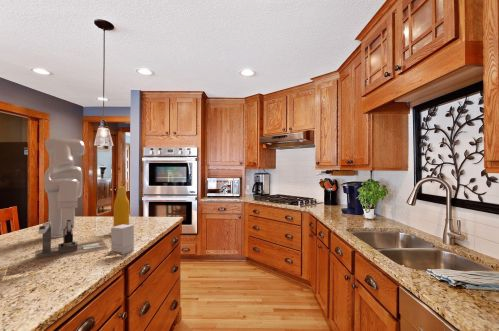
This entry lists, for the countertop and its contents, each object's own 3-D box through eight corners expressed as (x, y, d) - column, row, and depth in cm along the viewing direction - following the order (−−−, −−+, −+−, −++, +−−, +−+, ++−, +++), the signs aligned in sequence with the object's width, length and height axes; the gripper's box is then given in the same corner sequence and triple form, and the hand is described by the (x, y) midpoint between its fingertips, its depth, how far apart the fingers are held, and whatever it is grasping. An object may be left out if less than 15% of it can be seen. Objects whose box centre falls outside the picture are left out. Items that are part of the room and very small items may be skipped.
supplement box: (134, 250, 124) (134, 225, 124) (122, 255, 117) (122, 228, 117) (123, 248, 126) (123, 223, 127) (110, 253, 119) (110, 227, 120)
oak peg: (63, 250, 120) (63, 227, 120) (72, 248, 122) (72, 226, 122) (63, 252, 117) (63, 229, 117) (72, 250, 119) (72, 227, 120)
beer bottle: (129, 229, 167) (129, 186, 167) (129, 232, 158) (129, 187, 159) (113, 230, 163) (114, 186, 163) (112, 233, 154) (113, 187, 155)
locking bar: (43, 226, 115) (43, 220, 115) (51, 225, 117) (51, 219, 117) (36, 234, 102) (36, 227, 102) (46, 233, 104) (46, 226, 104)
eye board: (35, 252, 120) (35, 225, 120) (101, 241, 138) (102, 217, 138) (34, 265, 104) (34, 233, 104) (109, 251, 122) (109, 223, 122)
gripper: (57, 203, 124) (57, 238, 124) (59, 207, 111) (59, 246, 111) (75, 202, 129) (75, 235, 129) (79, 206, 116) (79, 243, 115)
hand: (67, 240), depth 120 cm, fingers open, 7 cm apart
